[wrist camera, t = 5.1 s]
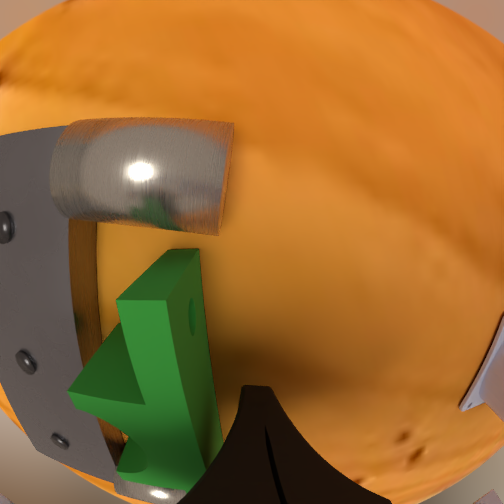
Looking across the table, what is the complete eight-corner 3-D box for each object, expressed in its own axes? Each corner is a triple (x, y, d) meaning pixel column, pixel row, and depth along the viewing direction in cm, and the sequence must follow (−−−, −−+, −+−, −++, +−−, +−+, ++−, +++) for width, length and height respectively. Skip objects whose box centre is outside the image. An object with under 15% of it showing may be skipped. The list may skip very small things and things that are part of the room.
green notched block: (105, 252, 9) (31, 294, 5) (199, 247, 10) (166, 298, 5) (159, 444, 12) (144, 507, 7) (224, 448, 12) (223, 516, 8)
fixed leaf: (234, 135, 9) (232, 108, 6) (202, 479, 13) (199, 517, 10) (-2, 140, 8) (-47, 137, 5) (48, 435, 12) (31, 462, 9)
